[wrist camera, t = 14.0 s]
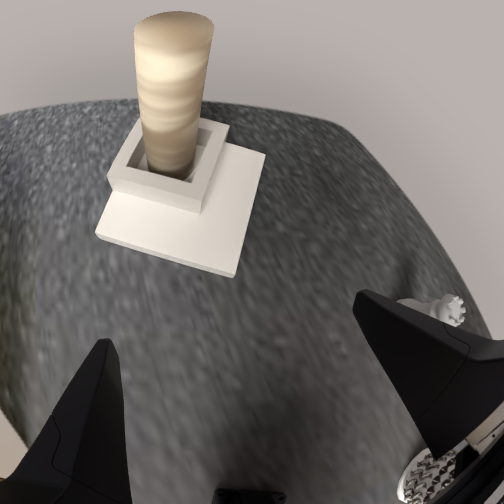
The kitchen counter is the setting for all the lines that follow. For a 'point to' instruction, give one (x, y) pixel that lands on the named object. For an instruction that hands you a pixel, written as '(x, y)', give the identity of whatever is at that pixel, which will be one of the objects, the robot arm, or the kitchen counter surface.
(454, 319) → the rook chess piece
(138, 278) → the kitchen counter surface
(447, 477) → the decorative candle
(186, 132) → the birch post
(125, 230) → the socket base
